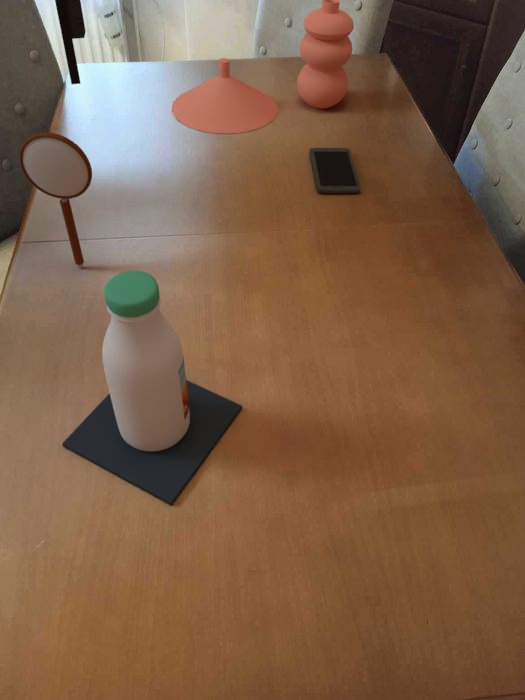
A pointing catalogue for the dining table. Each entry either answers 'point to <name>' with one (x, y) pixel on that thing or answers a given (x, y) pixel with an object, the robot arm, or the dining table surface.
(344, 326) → the dining table surface
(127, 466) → the mat
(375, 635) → the dining table surface
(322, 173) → the cell phone
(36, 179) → the magnifying glass
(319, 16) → the ceramic vessels
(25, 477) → the dining table surface
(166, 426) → the milk bottle
